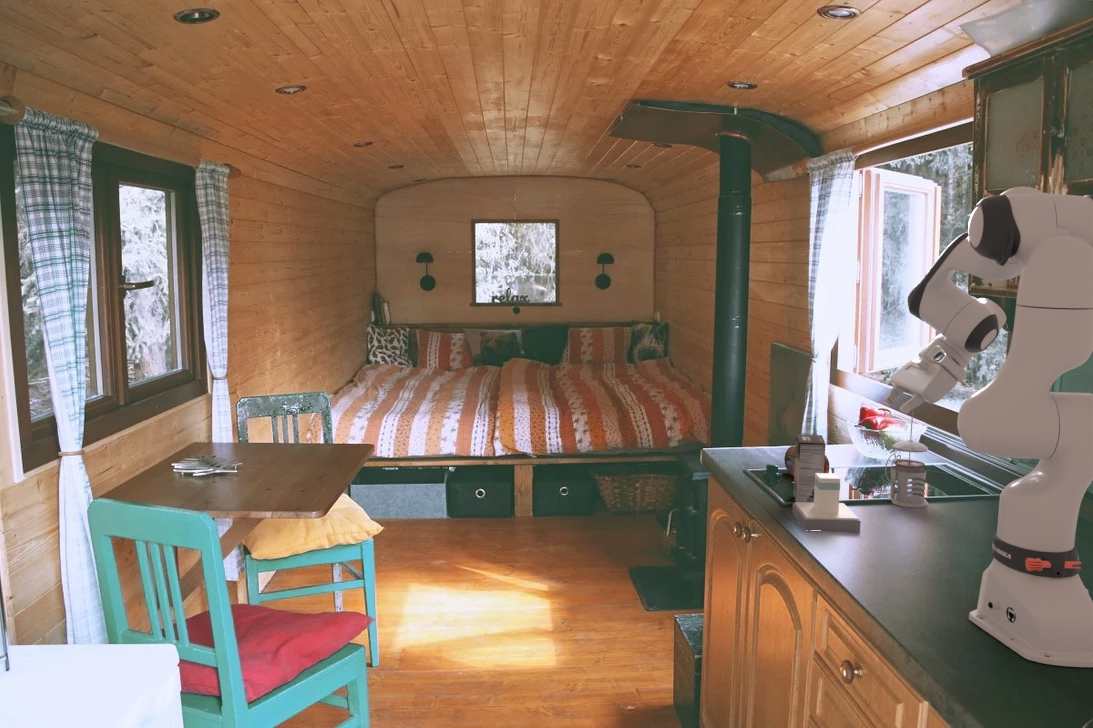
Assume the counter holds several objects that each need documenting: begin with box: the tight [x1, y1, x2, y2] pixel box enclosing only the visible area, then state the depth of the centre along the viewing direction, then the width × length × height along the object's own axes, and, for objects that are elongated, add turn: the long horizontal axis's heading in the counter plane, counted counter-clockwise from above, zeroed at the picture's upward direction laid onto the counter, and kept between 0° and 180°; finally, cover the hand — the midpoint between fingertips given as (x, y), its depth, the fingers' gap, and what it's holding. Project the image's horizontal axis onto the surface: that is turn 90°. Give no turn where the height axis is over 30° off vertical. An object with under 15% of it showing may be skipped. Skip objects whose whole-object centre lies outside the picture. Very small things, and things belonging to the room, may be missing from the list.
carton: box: [814, 472, 841, 513], centre depth 188 cm, size 4×4×8 cm
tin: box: [784, 445, 830, 477], centre depth 226 cm, size 15×3×8 cm, turn 25°
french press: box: [884, 409, 929, 508], centre depth 204 cm, size 10×12×25 cm
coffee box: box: [793, 434, 826, 502], centre depth 204 cm, size 9×6×16 cm
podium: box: [791, 501, 862, 533], centre depth 189 cm, size 12×12×3 cm
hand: (894, 407), depth 184 cm, fingers open, 8 cm apart
